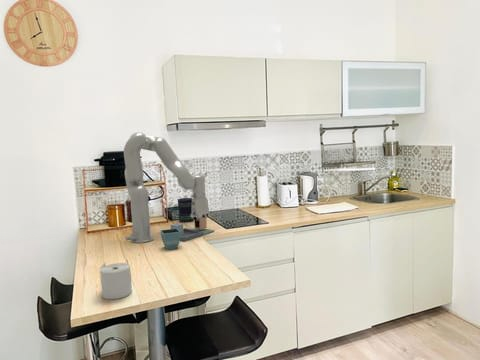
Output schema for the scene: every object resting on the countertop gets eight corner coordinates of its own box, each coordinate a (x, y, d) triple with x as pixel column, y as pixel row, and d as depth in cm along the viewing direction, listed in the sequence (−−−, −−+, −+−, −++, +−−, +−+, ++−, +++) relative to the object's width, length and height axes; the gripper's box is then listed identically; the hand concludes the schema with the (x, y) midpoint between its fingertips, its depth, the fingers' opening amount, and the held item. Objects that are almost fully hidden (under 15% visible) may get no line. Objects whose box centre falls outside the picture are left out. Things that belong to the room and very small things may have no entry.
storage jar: (190, 222, 254) (189, 200, 252) (176, 222, 256) (175, 200, 254) (195, 219, 264) (194, 197, 262) (182, 219, 266) (180, 198, 264)
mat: (204, 234, 222) (204, 233, 222) (188, 231, 231) (188, 230, 231) (214, 231, 228) (214, 230, 228) (198, 228, 237) (198, 227, 237)
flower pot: (178, 244, 205) (176, 227, 204) (181, 248, 197) (180, 231, 196) (161, 246, 202) (160, 230, 201) (164, 251, 194) (163, 234, 193)
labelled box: (200, 229, 226) (200, 218, 225) (194, 228, 229) (194, 217, 228) (206, 227, 230) (206, 217, 229) (200, 226, 233) (200, 216, 232)
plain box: (176, 237, 217) (176, 225, 217) (171, 235, 221) (170, 224, 220) (183, 235, 221) (183, 224, 220) (178, 233, 224) (177, 223, 224)
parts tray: (184, 241, 210) (183, 237, 209) (165, 237, 220) (165, 233, 220) (203, 235, 220) (202, 231, 220) (184, 232, 231) (184, 228, 230)
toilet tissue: (124, 300, 138) (121, 273, 137) (93, 299, 140) (90, 272, 139) (137, 288, 148) (135, 263, 147) (108, 287, 150) (105, 262, 149)
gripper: (192, 198, 218) (194, 229, 220) (213, 194, 231) (215, 223, 233) (183, 197, 223) (185, 228, 225) (205, 193, 236) (206, 222, 238)
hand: (200, 225), depth 229 cm, fingers closed on labelled box, 4 cm apart
